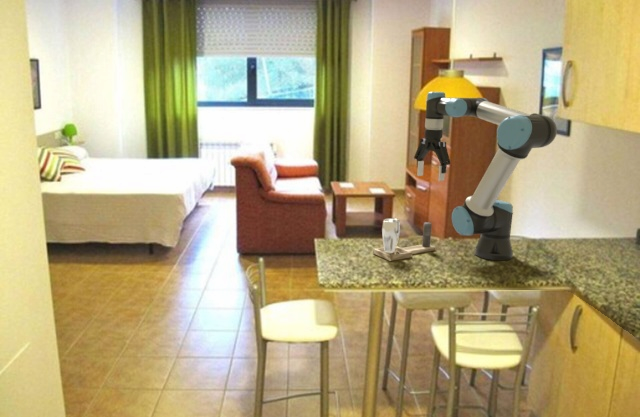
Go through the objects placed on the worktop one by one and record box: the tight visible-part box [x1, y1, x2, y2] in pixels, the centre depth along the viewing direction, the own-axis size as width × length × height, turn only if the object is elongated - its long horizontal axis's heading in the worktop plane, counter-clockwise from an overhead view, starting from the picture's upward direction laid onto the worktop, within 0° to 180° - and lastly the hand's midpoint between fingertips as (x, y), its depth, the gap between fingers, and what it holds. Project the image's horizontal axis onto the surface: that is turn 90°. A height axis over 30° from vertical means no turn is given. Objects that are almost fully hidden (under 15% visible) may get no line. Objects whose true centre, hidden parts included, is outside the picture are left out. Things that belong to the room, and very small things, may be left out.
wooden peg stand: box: [372, 221, 436, 262], centre depth 247 cm, size 11×27×12 cm, turn 122°
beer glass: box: [381, 218, 401, 255], centre depth 242 cm, size 7×7×15 cm
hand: (430, 178), depth 259 cm, fingers open, 13 cm apart
